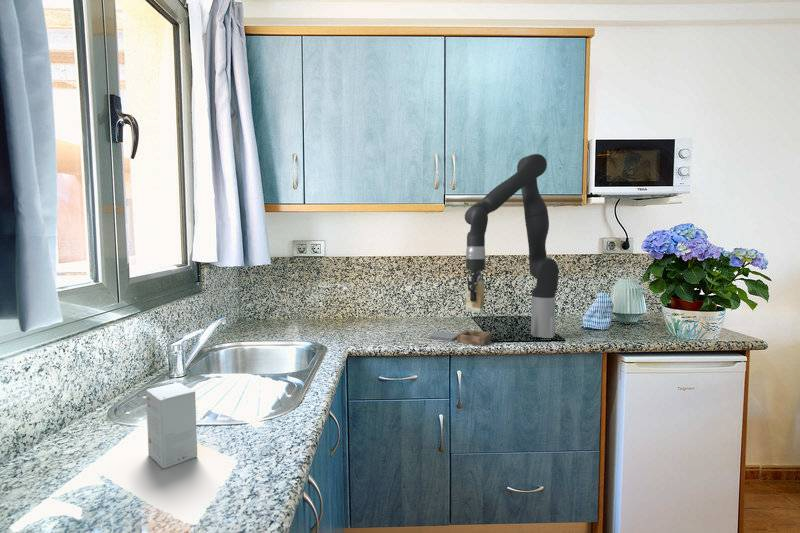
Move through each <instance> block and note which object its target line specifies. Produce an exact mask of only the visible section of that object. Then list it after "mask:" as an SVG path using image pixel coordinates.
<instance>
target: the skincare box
mask: <svg viewBox="0 0 800 533" xmlns="http://www.w3.org/2000/svg"><path fill="white" fill-rule="evenodd" d="M475 284H476V283H475ZM472 288H473V286H472ZM465 295H466V297H465V300H466V302H465V312H475V313H482V312H484V307H485V306H484V305H485V304H484V303H485V302H484V301H485V280H483V281H478V286H477V290H476V301H475V302H474V301H470V291H468V283H467V282H466V294H465Z"/></svg>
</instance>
